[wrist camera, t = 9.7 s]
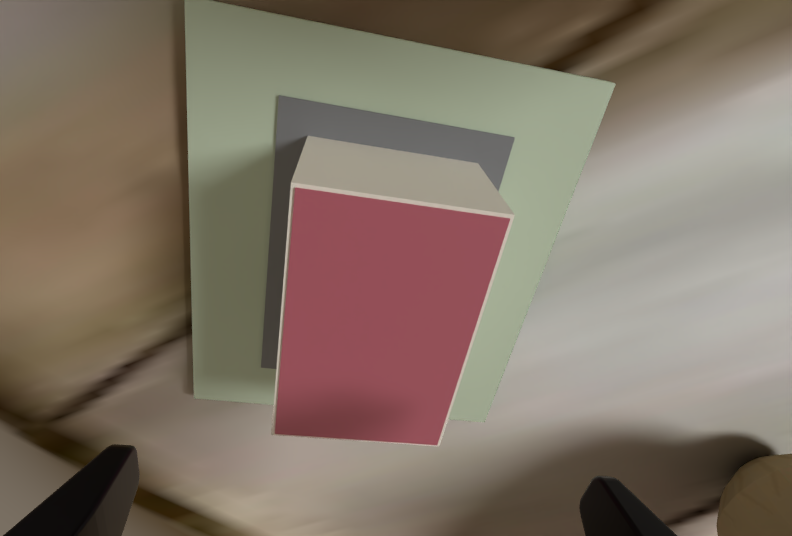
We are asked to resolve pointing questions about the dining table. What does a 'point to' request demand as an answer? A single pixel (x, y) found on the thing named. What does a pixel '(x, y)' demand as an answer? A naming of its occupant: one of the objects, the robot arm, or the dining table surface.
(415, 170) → the card box
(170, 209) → the dining table surface
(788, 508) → the decorative mushroom
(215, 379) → the mat
